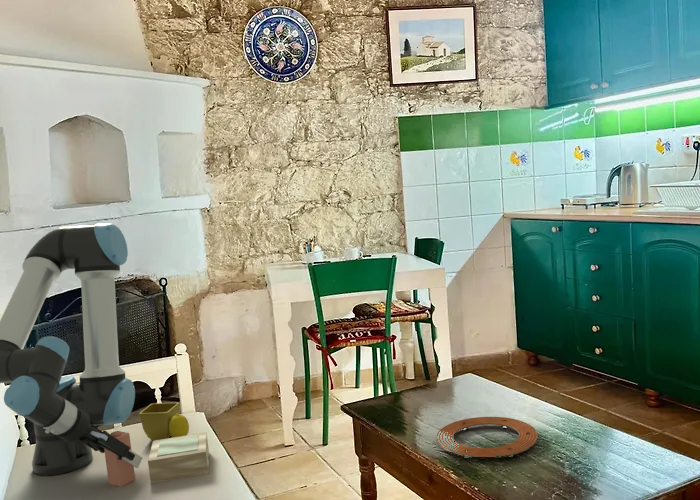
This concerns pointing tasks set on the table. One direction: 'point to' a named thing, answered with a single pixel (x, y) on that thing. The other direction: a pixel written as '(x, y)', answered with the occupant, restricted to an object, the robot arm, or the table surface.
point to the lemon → (178, 426)
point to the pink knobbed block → (119, 463)
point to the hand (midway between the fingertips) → (132, 461)
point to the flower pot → (158, 419)
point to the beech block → (179, 457)
